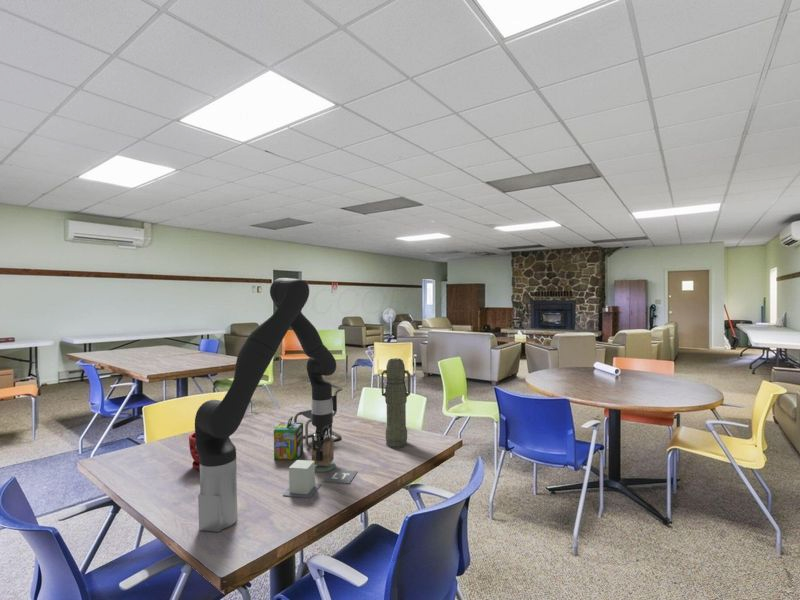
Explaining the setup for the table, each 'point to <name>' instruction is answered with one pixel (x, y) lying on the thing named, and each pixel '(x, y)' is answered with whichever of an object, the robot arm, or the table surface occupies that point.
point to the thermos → (396, 403)
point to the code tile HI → (303, 494)
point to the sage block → (301, 476)
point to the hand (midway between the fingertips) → (322, 457)
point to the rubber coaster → (325, 467)
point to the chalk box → (288, 440)
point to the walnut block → (325, 452)
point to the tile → (340, 476)
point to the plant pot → (194, 451)
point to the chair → (309, 415)
